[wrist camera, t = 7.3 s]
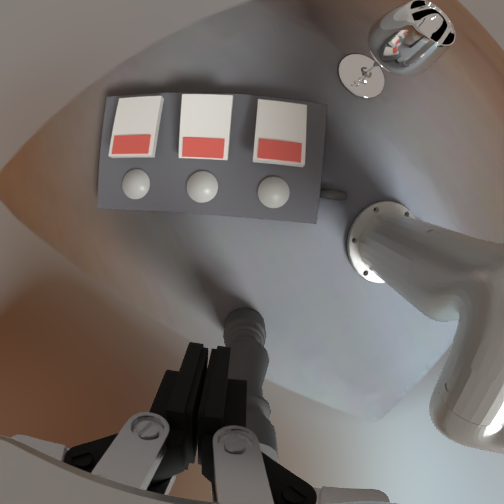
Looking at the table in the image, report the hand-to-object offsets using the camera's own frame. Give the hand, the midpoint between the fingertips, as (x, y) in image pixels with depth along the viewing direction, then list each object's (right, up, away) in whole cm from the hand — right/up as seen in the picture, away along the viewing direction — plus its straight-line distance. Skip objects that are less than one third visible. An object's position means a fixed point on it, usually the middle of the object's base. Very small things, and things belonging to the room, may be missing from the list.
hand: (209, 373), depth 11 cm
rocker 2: (-4, +20, +21) cm, 29 cm away
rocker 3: (+5, +19, +22) cm, 29 cm away
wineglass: (+18, +31, +24) cm, 43 cm away
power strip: (-2, +18, +27) cm, 32 cm away
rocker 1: (-13, +21, +21) cm, 32 cm away
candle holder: (+1, -6, +33) cm, 34 cm away
